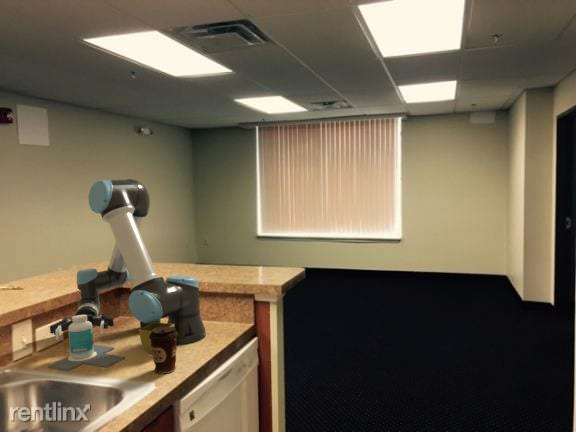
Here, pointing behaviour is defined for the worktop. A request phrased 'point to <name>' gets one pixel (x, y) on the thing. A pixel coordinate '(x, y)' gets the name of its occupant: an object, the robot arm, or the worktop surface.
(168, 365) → the coffee cup
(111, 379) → the worktop surface
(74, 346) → the pill bottle
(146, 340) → the flower pot
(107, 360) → the t mat
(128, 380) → the worktop surface
